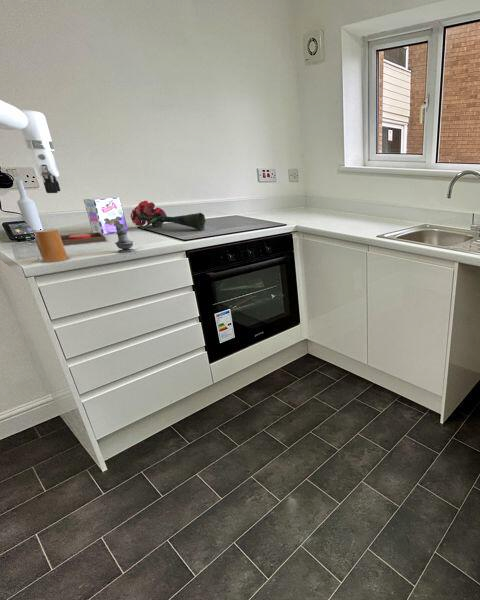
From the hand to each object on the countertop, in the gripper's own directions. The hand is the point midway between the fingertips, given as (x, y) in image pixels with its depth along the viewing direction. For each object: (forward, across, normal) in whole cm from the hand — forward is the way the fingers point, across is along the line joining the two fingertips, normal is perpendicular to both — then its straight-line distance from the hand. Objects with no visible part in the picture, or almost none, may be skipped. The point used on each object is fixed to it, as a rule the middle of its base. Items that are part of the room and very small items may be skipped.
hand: (53, 192), depth 142 cm
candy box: (+21, +23, -14) cm, 34 cm away
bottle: (+21, +13, +11) cm, 27 cm away
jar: (+21, -30, +2) cm, 37 cm away
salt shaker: (+21, -26, -19) cm, 39 cm away
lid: (+19, +5, -4) cm, 20 cm away
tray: (+21, +5, -4) cm, 22 cm away
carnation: (+21, +21, -40) cm, 49 cm away
